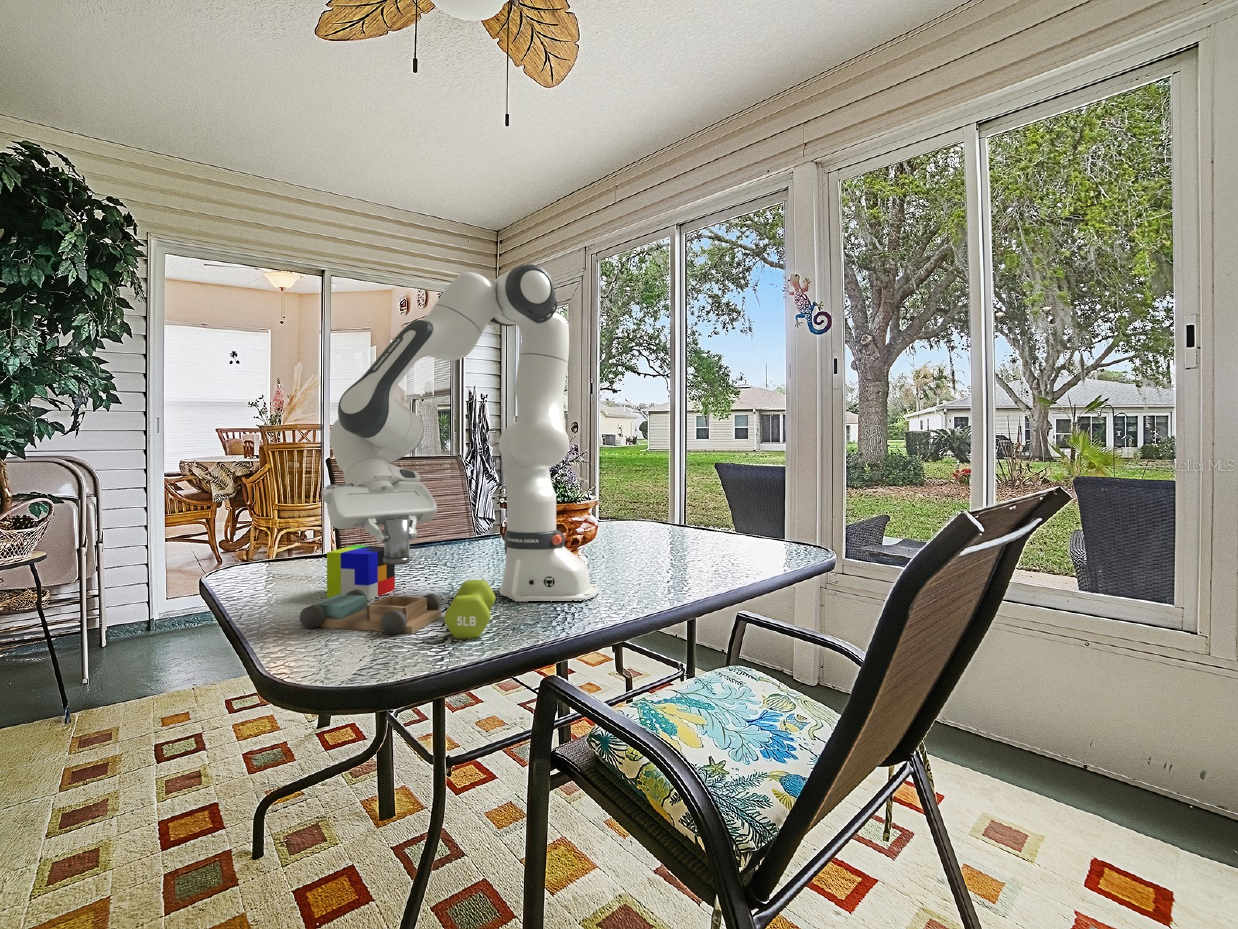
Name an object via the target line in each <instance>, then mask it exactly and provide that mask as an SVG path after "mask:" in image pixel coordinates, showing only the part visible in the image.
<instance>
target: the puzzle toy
mask: <svg viewBox="0 0 1238 929" xmlns="http://www.w3.org/2000/svg"><path fill="white" fill-rule="evenodd" d="M383 558H384V546H379V545H377V546H375V545H351V546H346V547H344V548H338V549H334V550H330V551H327V552H326V599H328V598H330V597H333V596H336V595H339V594H341V595H346V594H347V593H348V592H350V591H353V590H356V589H358V590H361V591H363V592H364V593H365V595H366V596H367V600H369V601H371V600H370V599H372V600H374V599H376V598H375V597H377V596H379V597H381V596H380V595H382V594H384V595H386V594H385V593H387V592H390V591H392V590H394V589H395V588H396V582H395V581H396V580H395V579H396V574H395V573H396V572H395V571H396V565H387V564H384V563H383ZM395 590H396V589H395ZM392 592H393V591H392ZM390 593H391V592H390ZM387 594H388V593H387ZM382 596H383V595H382ZM373 598H374V599H373ZM377 598H378V597H377Z"/></svg>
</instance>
